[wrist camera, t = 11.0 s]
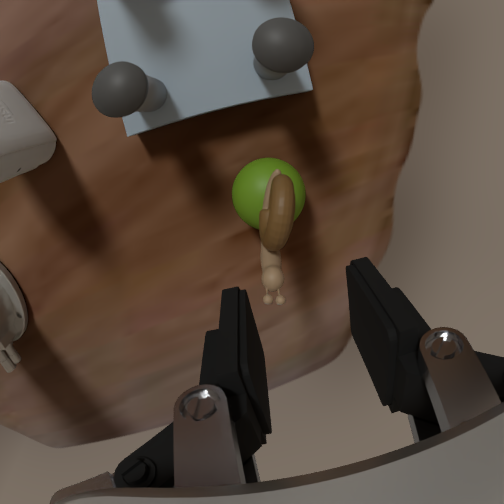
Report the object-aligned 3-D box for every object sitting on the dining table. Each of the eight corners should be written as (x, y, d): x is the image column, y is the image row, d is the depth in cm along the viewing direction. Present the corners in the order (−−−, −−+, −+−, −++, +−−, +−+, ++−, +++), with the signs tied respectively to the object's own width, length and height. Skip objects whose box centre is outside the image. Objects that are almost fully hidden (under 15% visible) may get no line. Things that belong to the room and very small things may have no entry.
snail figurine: (229, 226, 28) (221, 303, 17) (235, 150, 25) (230, 179, 14) (292, 231, 28) (323, 309, 17) (302, 157, 25) (348, 192, 14)
